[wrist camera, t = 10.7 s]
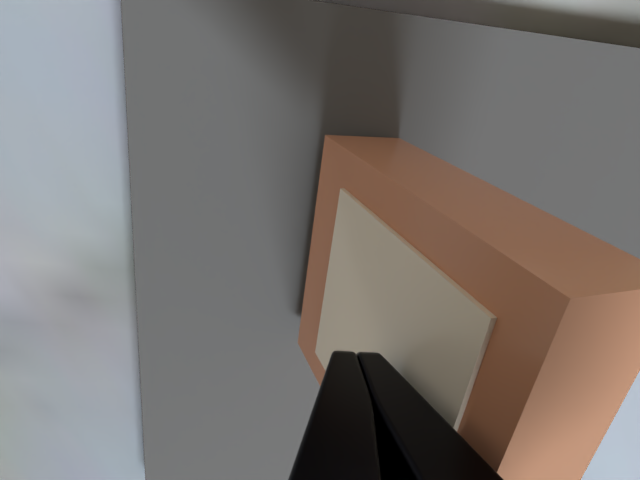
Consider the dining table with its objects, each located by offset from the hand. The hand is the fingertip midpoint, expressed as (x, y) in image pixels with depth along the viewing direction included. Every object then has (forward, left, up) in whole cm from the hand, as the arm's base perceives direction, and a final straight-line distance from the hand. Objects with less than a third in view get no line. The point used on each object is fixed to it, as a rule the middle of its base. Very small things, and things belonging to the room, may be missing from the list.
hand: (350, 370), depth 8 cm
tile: (0, 0, -5) cm, 5 cm away
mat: (+2, -2, -6) cm, 6 cm away
